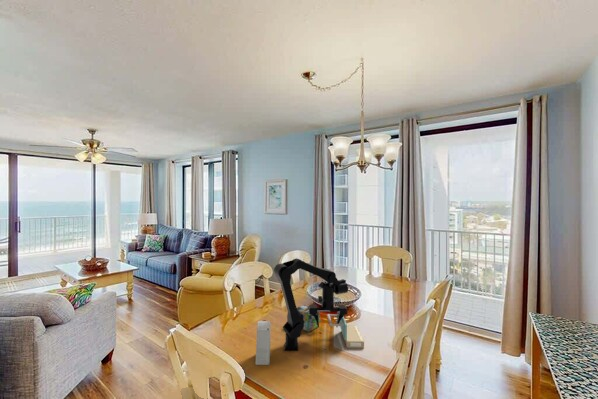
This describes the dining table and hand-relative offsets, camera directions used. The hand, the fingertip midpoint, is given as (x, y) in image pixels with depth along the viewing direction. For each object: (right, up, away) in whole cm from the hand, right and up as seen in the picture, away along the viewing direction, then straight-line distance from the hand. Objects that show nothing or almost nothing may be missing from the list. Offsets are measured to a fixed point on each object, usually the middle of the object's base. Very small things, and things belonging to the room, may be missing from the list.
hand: (327, 326), depth 132 cm
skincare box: (-30, -5, -18) cm, 35 cm away
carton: (+12, -6, 0) cm, 14 cm away
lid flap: (+8, +1, 0) cm, 8 cm away
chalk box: (-15, -1, +17) cm, 23 cm away
